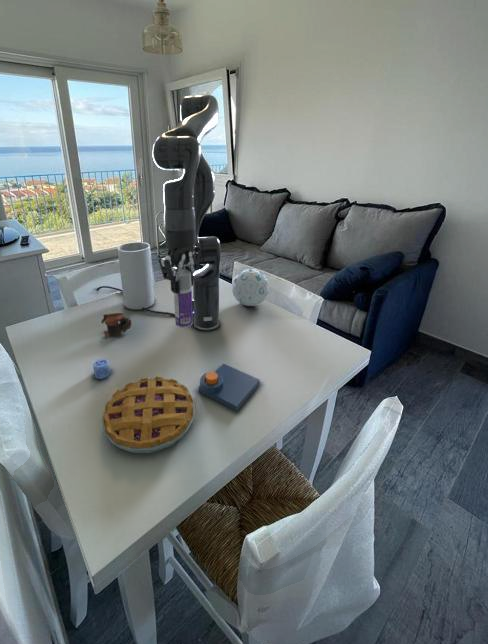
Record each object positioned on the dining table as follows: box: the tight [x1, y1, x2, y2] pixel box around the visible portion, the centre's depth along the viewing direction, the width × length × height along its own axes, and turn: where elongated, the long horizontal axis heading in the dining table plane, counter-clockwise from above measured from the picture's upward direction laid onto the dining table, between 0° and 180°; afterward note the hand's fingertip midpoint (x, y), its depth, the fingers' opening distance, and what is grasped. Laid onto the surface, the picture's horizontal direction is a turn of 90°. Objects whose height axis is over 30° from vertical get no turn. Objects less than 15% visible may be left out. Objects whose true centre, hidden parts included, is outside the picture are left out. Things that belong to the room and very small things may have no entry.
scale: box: [198, 363, 261, 412], centre depth 86 cm, size 12×12×4 cm
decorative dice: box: [92, 358, 110, 380], centre depth 92 cm, size 4×4×4 cm
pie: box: [101, 376, 196, 454], centre depth 76 cm, size 22×22×5 cm
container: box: [173, 269, 193, 329], centre depth 84 cm, size 5×5×15 cm
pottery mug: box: [100, 312, 133, 338], centre depth 113 cm, size 12×10×8 cm
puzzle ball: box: [231, 268, 270, 307], centre depth 130 cm, size 15×15×15 cm
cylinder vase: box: [117, 241, 155, 311], centre depth 129 cm, size 12×12×25 cm
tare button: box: [206, 371, 218, 385], centre depth 85 cm, size 3×3×2 cm
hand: (182, 288), depth 83 cm, fingers closed on container, 4 cm apart
